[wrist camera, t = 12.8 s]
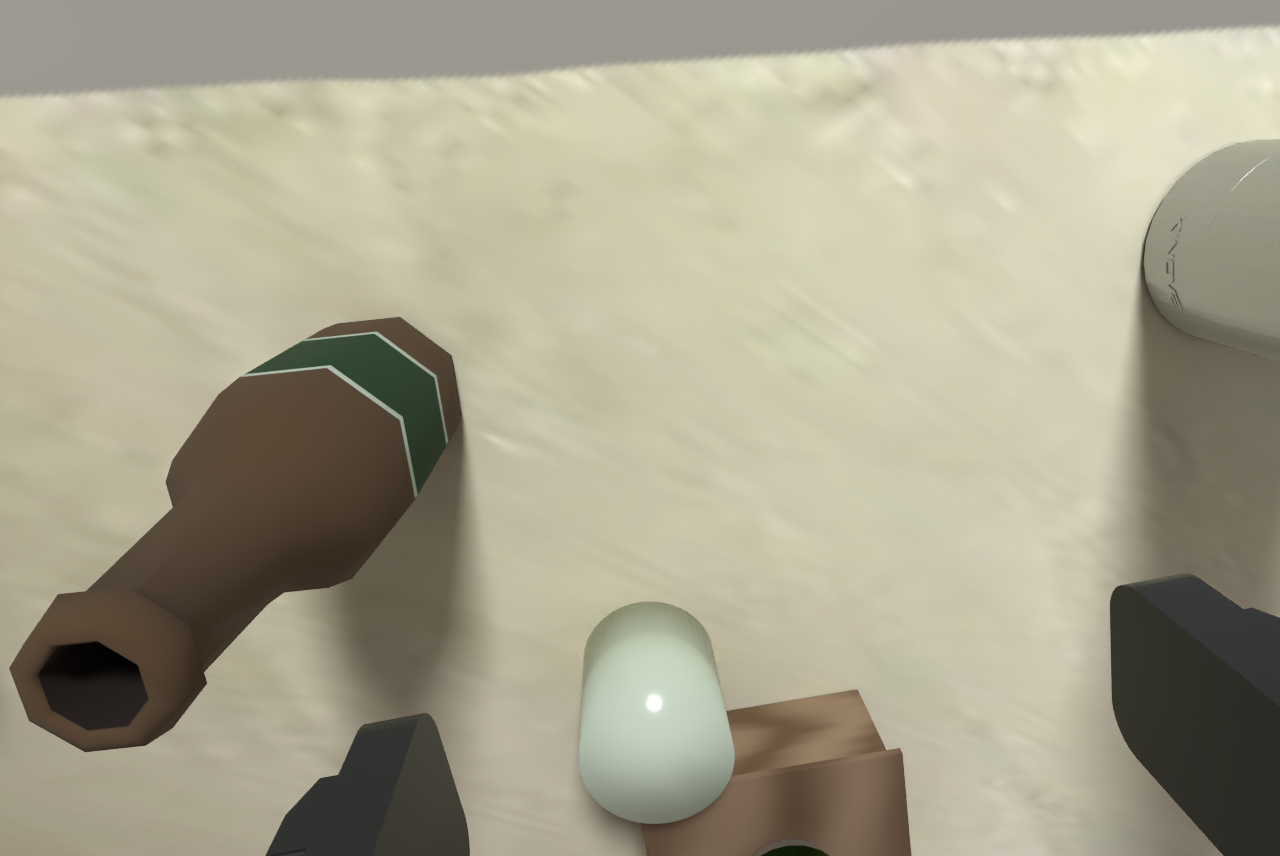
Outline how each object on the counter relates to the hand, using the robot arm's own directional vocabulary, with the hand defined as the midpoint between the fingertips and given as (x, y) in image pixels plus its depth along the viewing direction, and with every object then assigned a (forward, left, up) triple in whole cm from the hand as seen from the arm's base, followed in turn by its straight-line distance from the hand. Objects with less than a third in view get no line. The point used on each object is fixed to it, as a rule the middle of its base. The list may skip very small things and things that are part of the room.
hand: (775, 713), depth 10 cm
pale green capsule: (+3, +19, -31) cm, 36 cm away
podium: (-2, +29, -31) cm, 42 cm away
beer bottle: (+13, +2, -31) cm, 34 cm away
